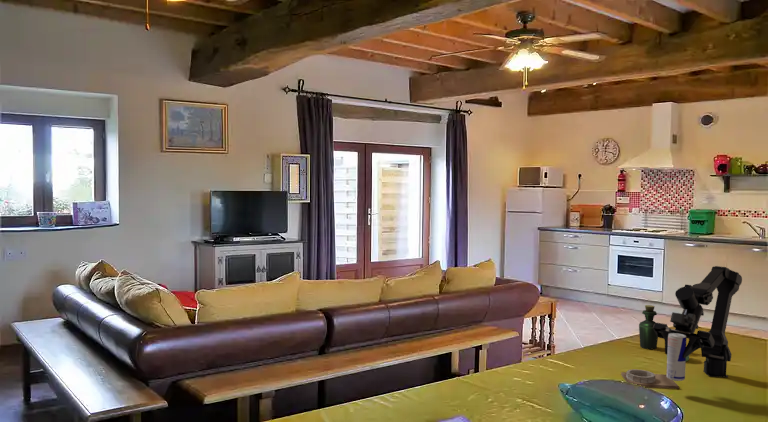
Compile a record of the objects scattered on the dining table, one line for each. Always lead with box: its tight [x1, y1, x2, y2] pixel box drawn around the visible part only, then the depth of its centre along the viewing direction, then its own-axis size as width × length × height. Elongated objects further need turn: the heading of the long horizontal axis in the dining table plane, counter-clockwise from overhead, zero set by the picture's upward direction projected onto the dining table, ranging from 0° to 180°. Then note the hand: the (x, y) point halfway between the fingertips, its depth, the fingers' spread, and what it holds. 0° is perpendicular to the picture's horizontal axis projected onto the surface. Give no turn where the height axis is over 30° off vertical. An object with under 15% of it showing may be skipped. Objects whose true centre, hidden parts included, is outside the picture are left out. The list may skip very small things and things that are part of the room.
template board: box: [620, 368, 680, 390], centre depth 223 cm, size 16×13×3 cm
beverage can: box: [666, 333, 687, 382], centre depth 210 cm, size 6×6×15 cm
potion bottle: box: [638, 304, 659, 350], centre depth 270 cm, size 8×8×18 cm
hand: (674, 355), depth 210 cm, fingers closed on beverage can, 5 cm apart
